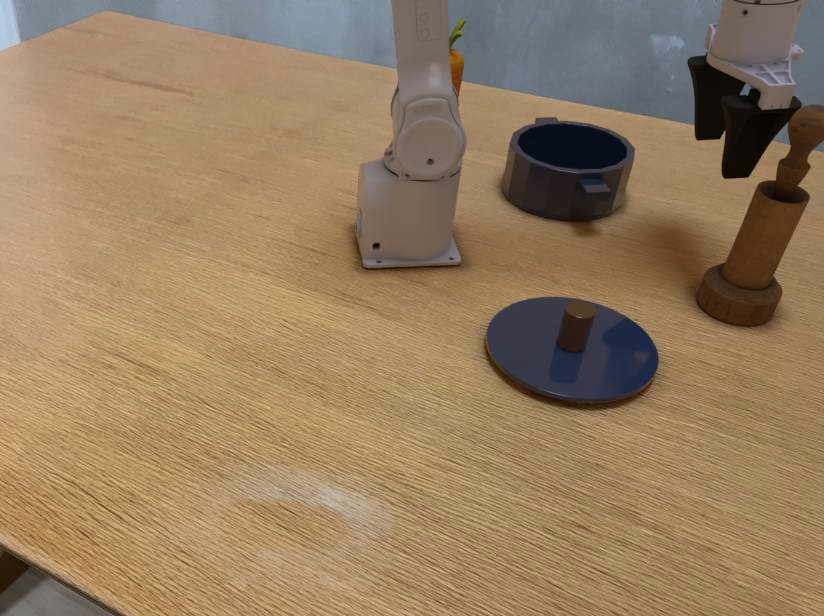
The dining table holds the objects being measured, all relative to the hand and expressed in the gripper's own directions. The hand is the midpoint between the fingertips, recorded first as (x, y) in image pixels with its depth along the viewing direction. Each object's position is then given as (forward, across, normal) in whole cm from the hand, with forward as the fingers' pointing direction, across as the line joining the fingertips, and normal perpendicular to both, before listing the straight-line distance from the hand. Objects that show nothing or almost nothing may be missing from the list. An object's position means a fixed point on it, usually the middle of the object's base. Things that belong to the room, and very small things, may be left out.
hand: (720, 156), depth 74 cm
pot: (+9, +12, +11) cm, 19 cm away
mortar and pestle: (+10, -8, -1) cm, 13 cm away
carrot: (+8, +23, +24) cm, 34 cm away
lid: (+8, -16, +15) cm, 24 cm away
